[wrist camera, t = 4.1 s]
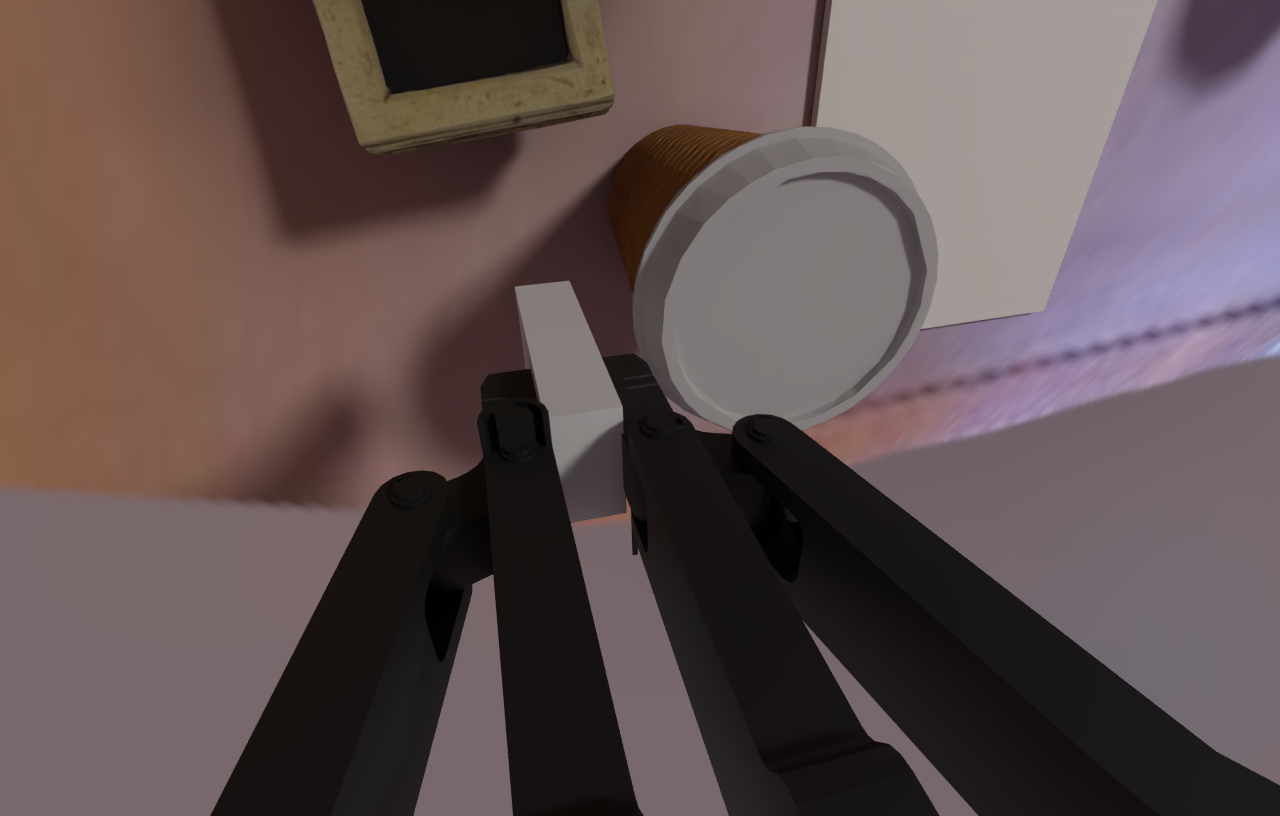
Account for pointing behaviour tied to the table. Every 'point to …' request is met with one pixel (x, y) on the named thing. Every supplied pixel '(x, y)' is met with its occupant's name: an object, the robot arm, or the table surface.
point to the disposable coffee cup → (771, 268)
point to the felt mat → (984, 125)
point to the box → (464, 68)
